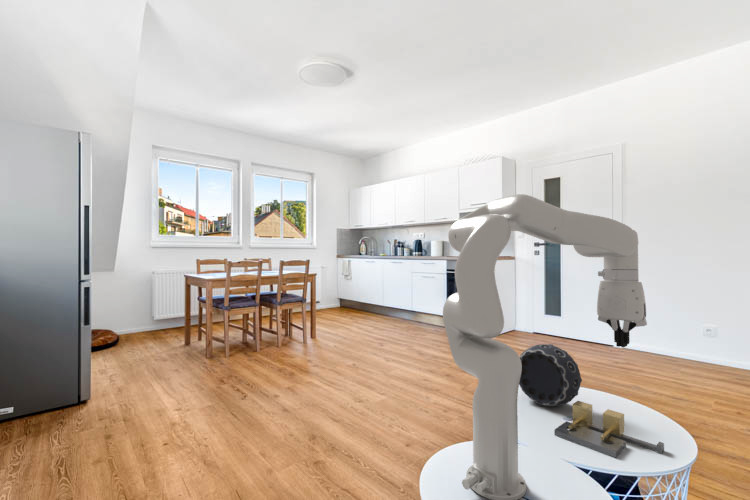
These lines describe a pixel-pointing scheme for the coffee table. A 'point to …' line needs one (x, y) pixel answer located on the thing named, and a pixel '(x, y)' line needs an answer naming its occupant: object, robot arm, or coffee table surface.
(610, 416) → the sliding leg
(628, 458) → the coffee table surface
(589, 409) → the dividers bar
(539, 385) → the dark grey wheel
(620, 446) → the flange plate
